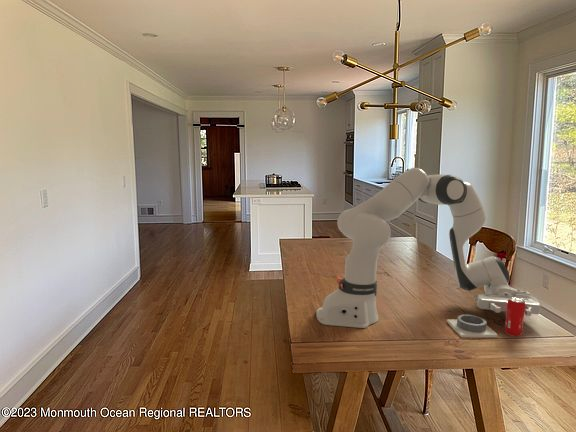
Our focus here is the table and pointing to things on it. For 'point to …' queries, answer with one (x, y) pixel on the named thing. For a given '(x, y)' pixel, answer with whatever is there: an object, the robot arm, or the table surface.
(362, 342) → the table surface
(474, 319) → the mount
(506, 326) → the beverage can
